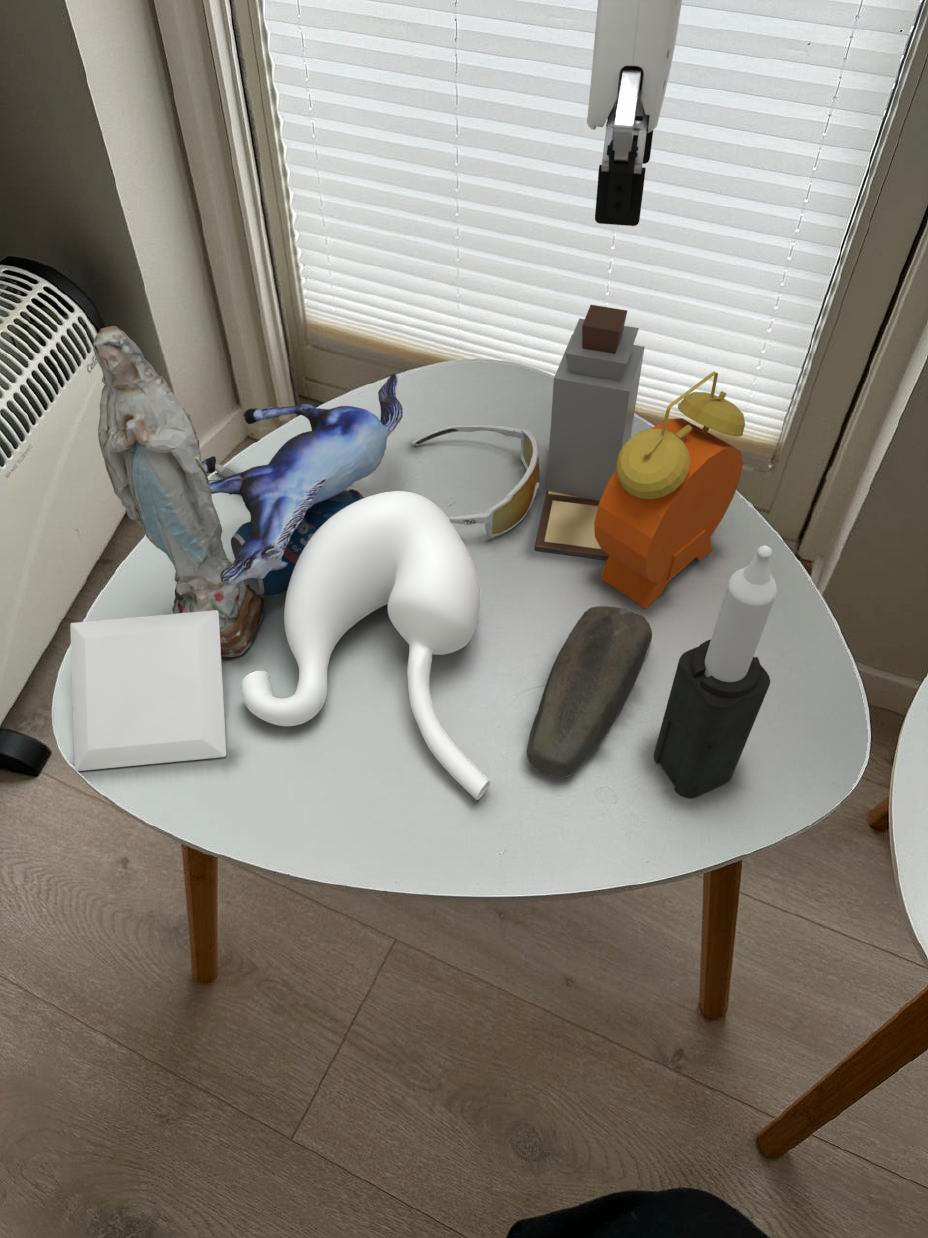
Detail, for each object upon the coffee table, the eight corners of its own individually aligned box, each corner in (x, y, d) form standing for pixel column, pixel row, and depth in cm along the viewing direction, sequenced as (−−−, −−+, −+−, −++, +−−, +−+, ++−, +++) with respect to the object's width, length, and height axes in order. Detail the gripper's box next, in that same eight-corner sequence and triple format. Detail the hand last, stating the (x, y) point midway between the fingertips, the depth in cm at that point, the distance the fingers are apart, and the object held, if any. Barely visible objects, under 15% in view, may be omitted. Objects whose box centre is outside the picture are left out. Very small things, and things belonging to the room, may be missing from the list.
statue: (164, 649, 82) (36, 361, 59) (197, 586, 86) (90, 296, 63) (244, 663, 81) (146, 376, 57) (274, 599, 85) (194, 308, 62)
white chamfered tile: (69, 771, 73) (91, 771, 78) (223, 756, 74) (236, 757, 79) (65, 620, 75) (86, 630, 80) (215, 607, 76) (228, 617, 81)
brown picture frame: (624, 461, 96) (625, 456, 96) (610, 560, 88) (611, 555, 87) (555, 453, 97) (555, 447, 97) (534, 550, 89) (534, 545, 88)
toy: (121, 510, 78) (228, 558, 69) (344, 331, 90) (460, 353, 81) (165, 575, 83) (270, 627, 75) (370, 398, 95) (482, 425, 86)
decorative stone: (586, 614, 84) (590, 583, 81) (655, 638, 82) (662, 608, 79) (508, 766, 74) (509, 739, 71) (584, 797, 72) (589, 770, 69)
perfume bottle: (546, 490, 93) (556, 333, 79) (562, 446, 97) (575, 290, 83) (613, 504, 91) (636, 347, 77) (627, 459, 95) (651, 302, 81)
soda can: (235, 523, 79) (359, 475, 84) (222, 535, 86) (337, 490, 90) (269, 598, 80) (390, 546, 85) (253, 605, 86) (366, 556, 91)
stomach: (235, 702, 83) (449, 864, 76) (177, 653, 71) (425, 840, 64) (392, 511, 89) (605, 645, 82) (362, 434, 77) (611, 584, 69)
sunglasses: (521, 555, 88) (515, 516, 84) (375, 537, 93) (363, 500, 89) (558, 458, 96) (554, 418, 93) (423, 446, 101) (414, 408, 97)
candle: (647, 751, 75) (704, 532, 55) (701, 727, 76) (775, 506, 57) (683, 803, 72) (756, 592, 52) (738, 777, 73) (829, 562, 54)
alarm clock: (672, 510, 92) (710, 334, 76) (724, 542, 89) (774, 366, 73) (583, 583, 86) (604, 409, 70) (636, 620, 83) (670, 447, 68)
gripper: (605, -122, 64) (587, 137, 77) (572, -39, 53) (558, 245, 66) (717, -120, 63) (679, 142, 76) (707, -35, 52) (665, 253, 65)
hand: (623, 190), depth 71 cm, fingers open, 9 cm apart
